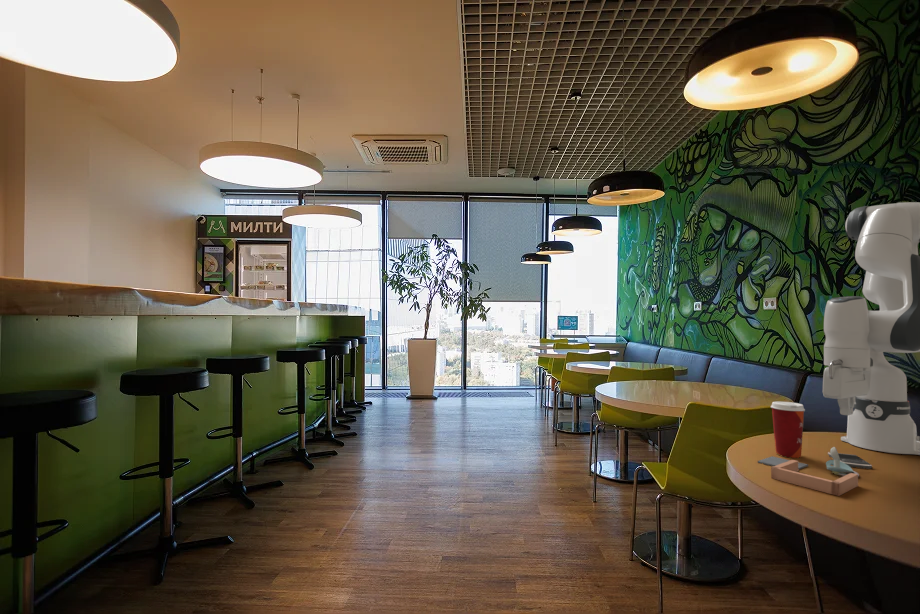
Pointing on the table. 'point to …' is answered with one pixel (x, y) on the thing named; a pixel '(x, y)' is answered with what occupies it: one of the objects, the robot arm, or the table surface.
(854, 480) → the pink u-shaped bracket
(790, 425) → the paper cup
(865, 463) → the cell phone
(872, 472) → the table surface
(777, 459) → the gray tile
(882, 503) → the table surface
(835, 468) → the pacifier
